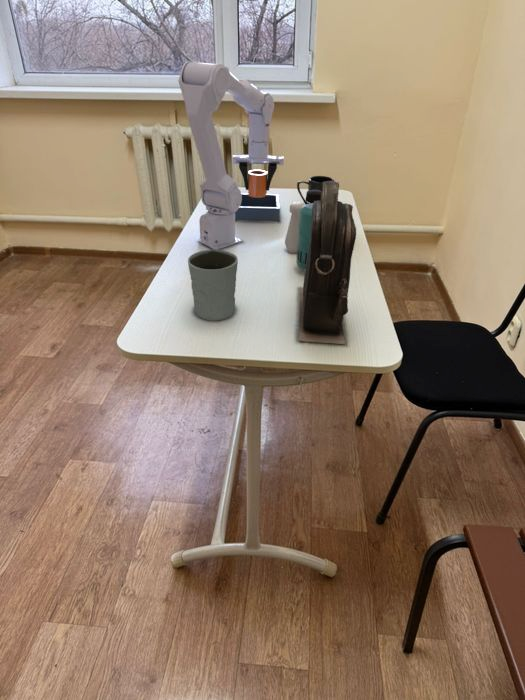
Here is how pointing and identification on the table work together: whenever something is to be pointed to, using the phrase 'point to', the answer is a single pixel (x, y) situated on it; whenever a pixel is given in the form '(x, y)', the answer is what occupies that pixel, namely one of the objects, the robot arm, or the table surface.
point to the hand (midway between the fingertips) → (257, 189)
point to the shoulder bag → (327, 269)
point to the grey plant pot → (213, 283)
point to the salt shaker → (293, 227)
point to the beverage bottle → (306, 227)
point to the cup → (257, 183)
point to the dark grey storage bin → (259, 208)
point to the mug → (314, 184)
